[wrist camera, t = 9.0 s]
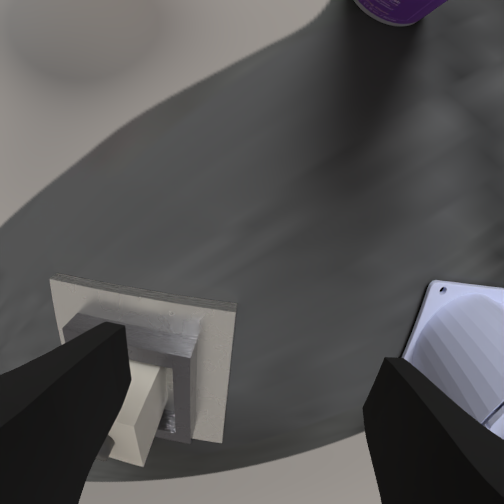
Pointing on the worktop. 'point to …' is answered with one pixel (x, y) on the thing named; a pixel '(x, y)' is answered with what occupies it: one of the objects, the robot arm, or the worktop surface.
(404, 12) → the container
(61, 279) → the socket plate
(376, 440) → the robot arm
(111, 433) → the plug
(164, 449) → the worktop surface
